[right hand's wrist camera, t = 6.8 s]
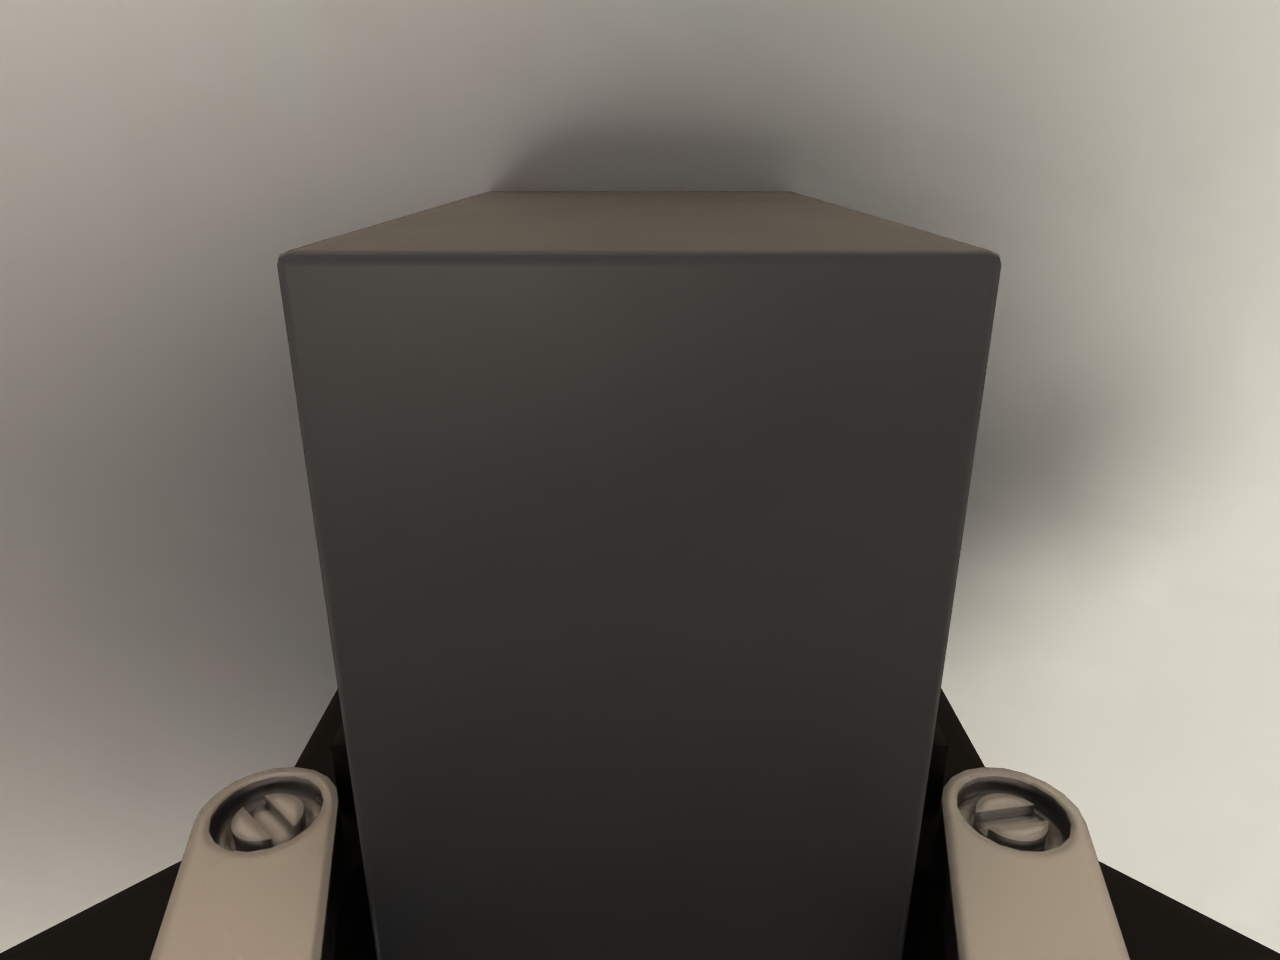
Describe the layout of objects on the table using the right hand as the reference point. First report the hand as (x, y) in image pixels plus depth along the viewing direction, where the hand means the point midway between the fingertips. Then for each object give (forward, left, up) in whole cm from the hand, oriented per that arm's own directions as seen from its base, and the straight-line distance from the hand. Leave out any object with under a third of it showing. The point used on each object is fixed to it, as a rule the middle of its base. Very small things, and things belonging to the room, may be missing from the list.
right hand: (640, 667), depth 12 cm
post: (+30, -6, -2) cm, 31 cm away
